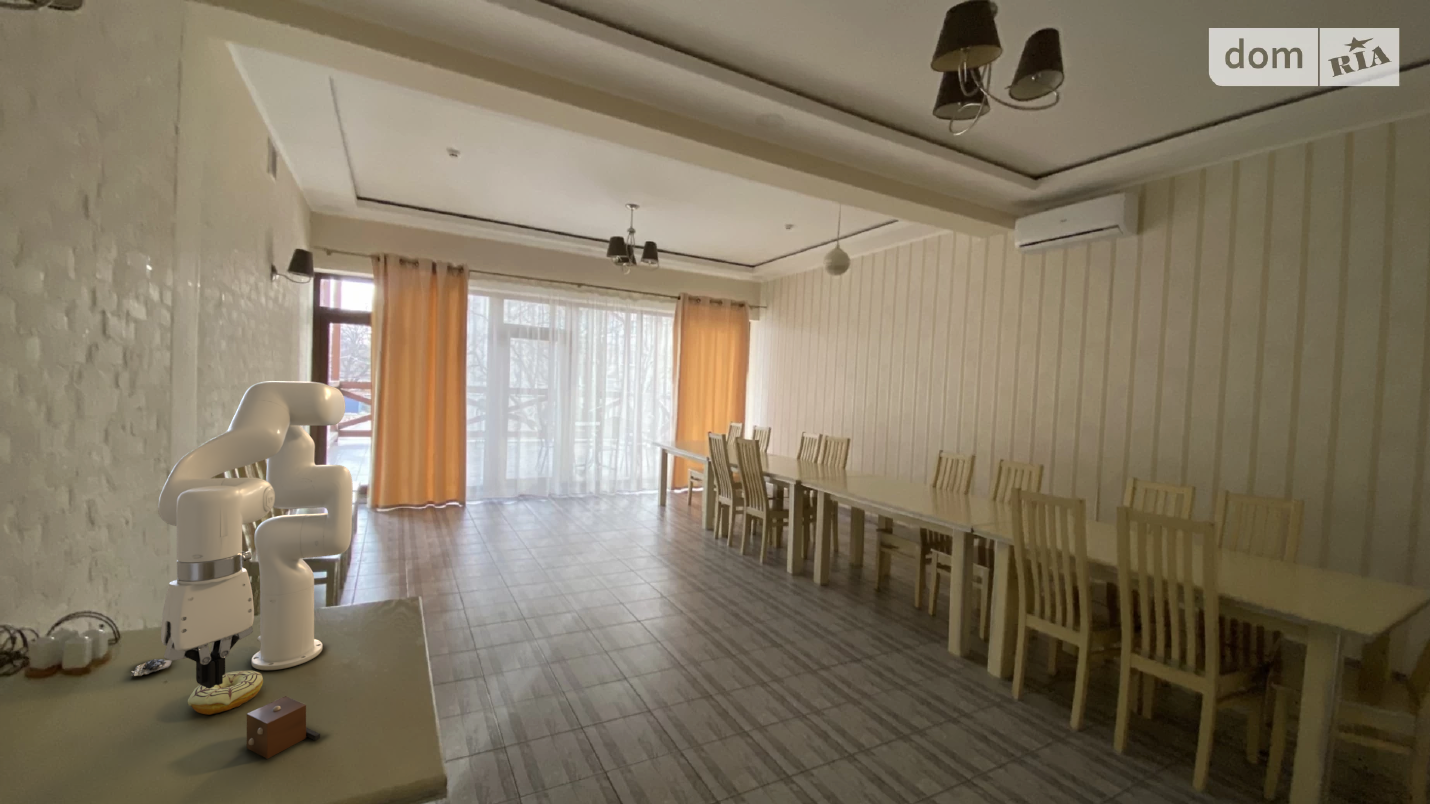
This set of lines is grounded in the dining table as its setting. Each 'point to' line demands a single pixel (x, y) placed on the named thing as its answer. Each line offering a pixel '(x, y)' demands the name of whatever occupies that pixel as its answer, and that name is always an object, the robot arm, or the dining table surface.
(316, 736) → the stop strip
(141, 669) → the oyster shell
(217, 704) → the decorated donut
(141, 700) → the dining table surface
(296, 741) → the die
